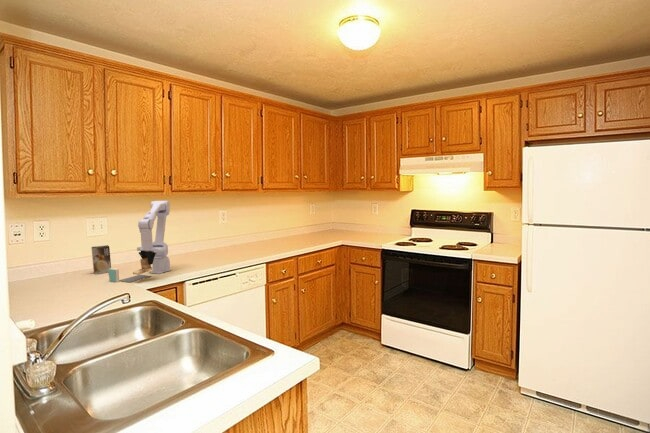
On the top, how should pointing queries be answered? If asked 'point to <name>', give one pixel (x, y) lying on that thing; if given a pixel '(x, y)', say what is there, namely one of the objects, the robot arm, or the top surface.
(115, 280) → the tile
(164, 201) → the robot arm
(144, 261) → the brown l-shaped block
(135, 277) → the mat
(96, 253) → the coffee box
